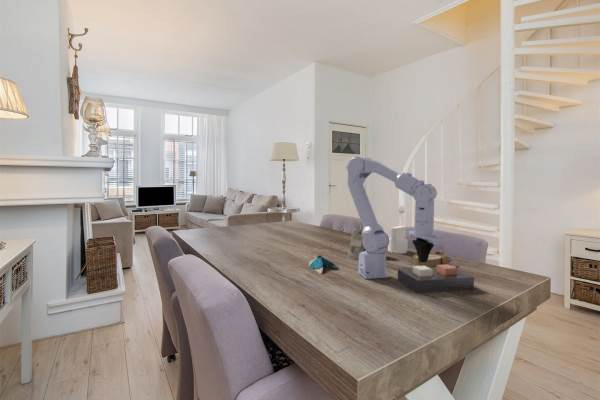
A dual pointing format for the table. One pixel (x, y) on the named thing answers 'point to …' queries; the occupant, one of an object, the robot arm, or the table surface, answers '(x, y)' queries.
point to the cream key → (422, 271)
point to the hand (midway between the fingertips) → (422, 261)
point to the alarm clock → (433, 260)
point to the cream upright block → (398, 240)
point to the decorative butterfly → (320, 263)
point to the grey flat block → (435, 281)
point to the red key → (446, 269)
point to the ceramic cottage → (356, 244)
